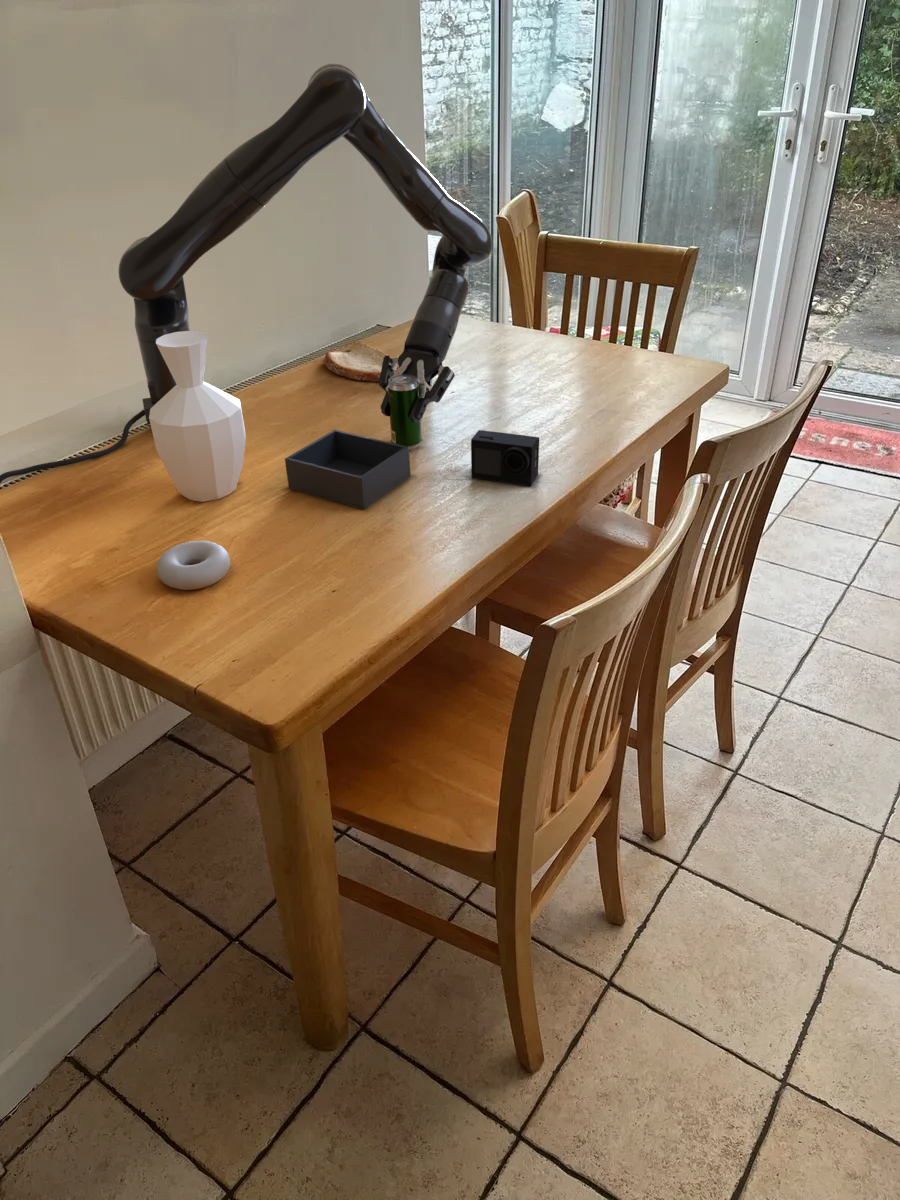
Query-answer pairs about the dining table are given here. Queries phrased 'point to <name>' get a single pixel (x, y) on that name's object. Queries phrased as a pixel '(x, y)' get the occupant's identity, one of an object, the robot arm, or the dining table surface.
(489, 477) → the digital camera
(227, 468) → the vase
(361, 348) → the bread slice
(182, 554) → the donut
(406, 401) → the beer can
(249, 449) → the dining table surface
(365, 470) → the open rectangular tray
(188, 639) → the dining table surface
